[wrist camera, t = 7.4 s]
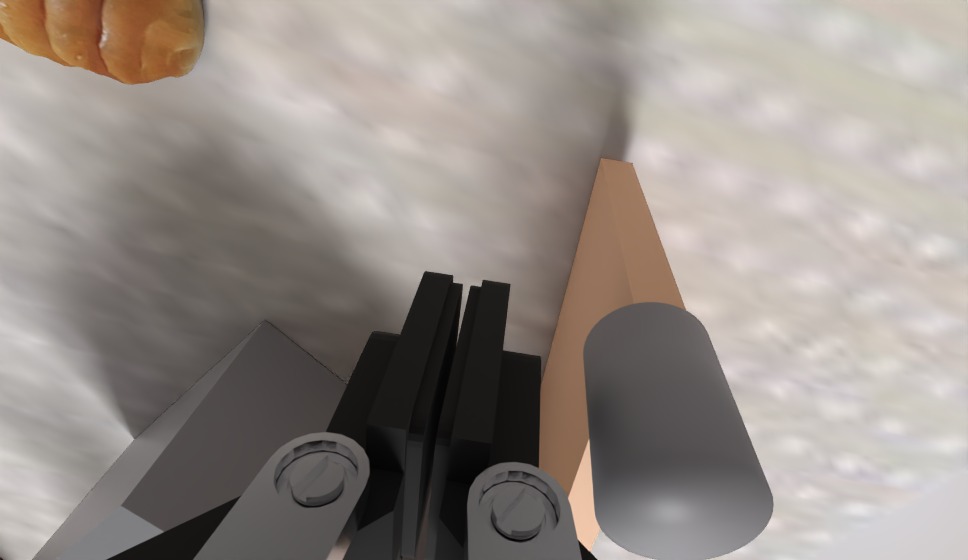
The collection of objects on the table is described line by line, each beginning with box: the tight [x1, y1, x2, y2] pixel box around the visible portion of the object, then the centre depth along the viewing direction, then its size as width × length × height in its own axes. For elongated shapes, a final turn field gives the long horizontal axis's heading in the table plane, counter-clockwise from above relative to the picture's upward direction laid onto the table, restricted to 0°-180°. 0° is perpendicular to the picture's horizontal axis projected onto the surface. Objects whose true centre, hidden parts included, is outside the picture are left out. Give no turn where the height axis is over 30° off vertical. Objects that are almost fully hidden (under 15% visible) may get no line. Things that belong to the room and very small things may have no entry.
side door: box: [539, 158, 773, 560], centre depth 17 cm, size 18×2×12 cm, turn 172°
